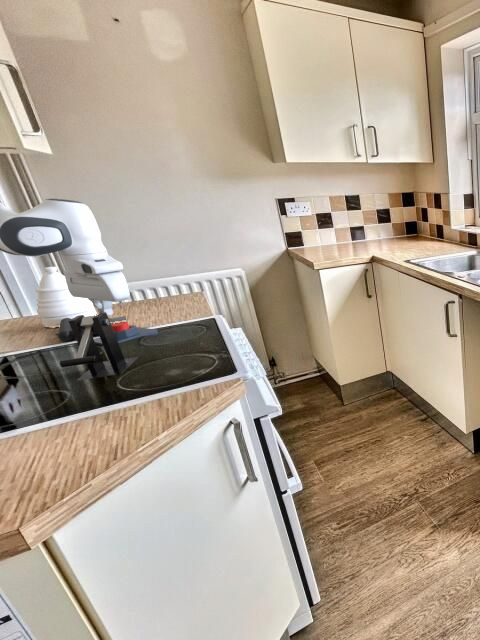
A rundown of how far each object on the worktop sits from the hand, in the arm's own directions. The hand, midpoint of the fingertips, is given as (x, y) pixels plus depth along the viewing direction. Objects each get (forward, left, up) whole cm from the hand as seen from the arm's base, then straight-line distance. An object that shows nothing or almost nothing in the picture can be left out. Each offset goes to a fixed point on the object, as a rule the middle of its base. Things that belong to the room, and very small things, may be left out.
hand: (106, 314), depth 115 cm
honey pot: (+7, +38, -8) cm, 39 cm away
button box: (+1, -1, -8) cm, 8 cm away
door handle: (+4, +20, -8) cm, 22 cm away
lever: (-16, -26, 0) cm, 31 cm away
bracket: (-14, -23, -8) cm, 28 cm away
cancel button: (+1, -1, -5) cm, 5 cm away
